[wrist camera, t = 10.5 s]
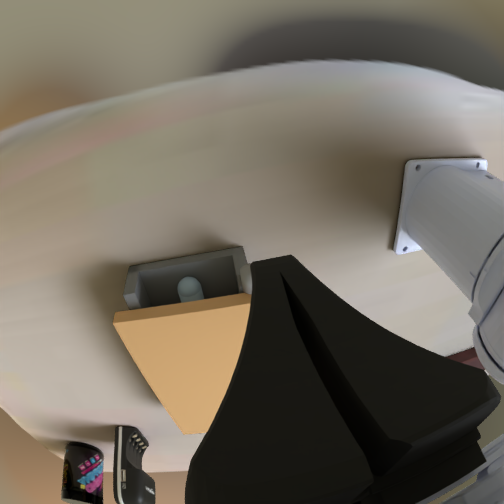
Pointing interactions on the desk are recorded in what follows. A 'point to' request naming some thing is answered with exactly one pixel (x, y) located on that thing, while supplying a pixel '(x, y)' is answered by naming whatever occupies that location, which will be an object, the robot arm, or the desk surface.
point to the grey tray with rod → (188, 279)
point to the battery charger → (131, 468)
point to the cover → (187, 353)
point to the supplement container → (82, 474)
